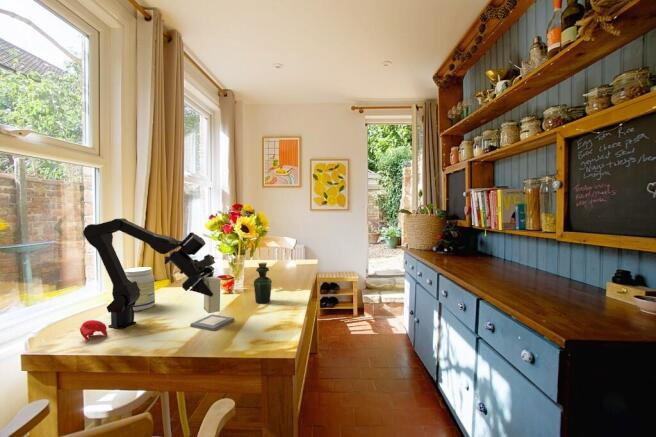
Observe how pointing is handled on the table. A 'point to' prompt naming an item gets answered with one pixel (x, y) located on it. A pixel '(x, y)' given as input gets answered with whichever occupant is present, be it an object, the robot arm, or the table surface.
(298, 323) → the table surface
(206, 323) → the slate pad
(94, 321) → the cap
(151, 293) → the supplement tub
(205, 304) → the skincare box
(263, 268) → the potion bottle
